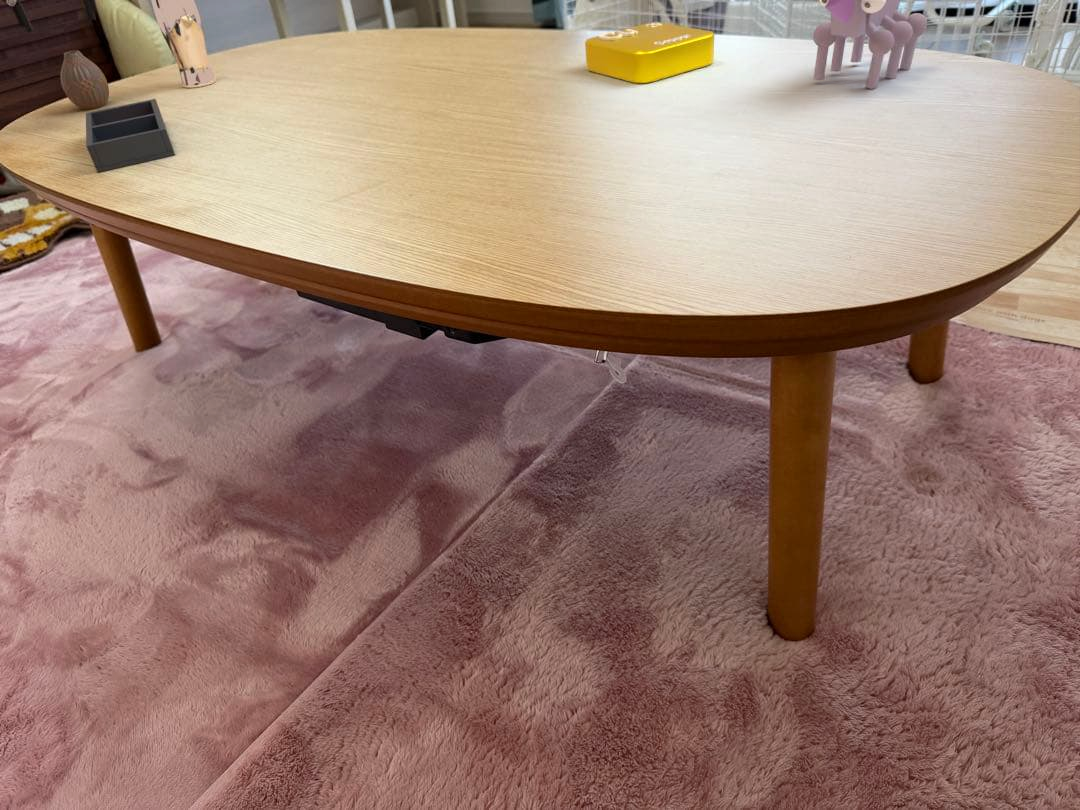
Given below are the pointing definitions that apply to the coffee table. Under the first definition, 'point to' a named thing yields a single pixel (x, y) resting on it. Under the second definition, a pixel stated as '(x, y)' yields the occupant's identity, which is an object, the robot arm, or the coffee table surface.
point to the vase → (83, 81)
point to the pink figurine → (856, 12)
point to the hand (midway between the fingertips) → (62, 24)
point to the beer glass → (185, 40)
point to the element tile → (649, 52)
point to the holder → (127, 135)
